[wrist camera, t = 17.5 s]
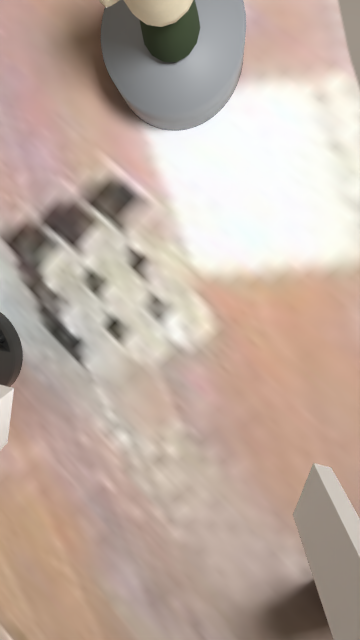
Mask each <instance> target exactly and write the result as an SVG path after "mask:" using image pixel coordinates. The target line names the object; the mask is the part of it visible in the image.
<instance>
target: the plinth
mask: <svg viewBox="0 0 360 640" xmlns="http://www.w3.org/2000/svg"><path fill="white" fill-rule="evenodd" d="M195 2H196V6H197V10H198V15H199V22H200V31H199V36H198V40H197V44H196V45H195V47H194V48H193V50H192V51H191V52H190V54H189V55H188V56H187V57H185V58H183V59H181V60H180V61H178V62H163V61H161V60H159V59H157V58H156V57H154V56H152V55H151V53H150V52H149V50H148V49H147V47H146V46H145V45H144V40H143V36H142V31H141V25H140V20H139V19H138V18H137V17H136V16H135V15H133V14H132V12H131V11H130V9H129V8H128V6H127V5H126V3H125V2H124V0H120V1H118V2H117V3H115V4H113V5H112V6H110V7H107V8H106V7H105V9H104V14H103V18H102V25H101V47H102V54H103V58H104V62H105V65H106V68H107V71H108V73H109V75H110V77H111V79H112V81H113V82H114V84H115V85H116V87H117V89H118V90H119V92H120V93H121V95H122V97H123V98H124V100H125V101H126V103H127V104H128V106H129V107H130V109H131V110H132V111H133V112H134V113H135V114H136V115H137V116H138V117H139V118H140V119H142V120H143V121H145V122H146V123H148V124H150V125H152V126H154V127H157V128H161V129H165V130H185V129H189V128H193V127H196V126H198V125H200V124H203V123H204V122H206V121H208V120H209V119H211V118H212V117H213V116H215V115H216V114H217V113H218V112H219V111H220V110H221V109H222V108H223V107H224V106H225V104H226V103H227V102H228V100H229V99H230V97H231V96H232V94H233V92H234V90H235V88H236V86H237V84H238V81H239V78H240V75H241V70H242V65H243V55H244V44H245V33H246V14H245V7H244V2H243V0H195Z"/></svg>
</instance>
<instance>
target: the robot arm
mask: <svg viewBox="0 0 360 640" xmlns="http://www.w3.org/2000/svg"><path fill="white" fill-rule="evenodd" d="M22 357H23V355H22V346H21V342H20V339H19V336H18V334H17V332H16V330H15V328H14V327H13V325H12V324H11V322H10V321H9V320H8V319H7V318H6V317H5V316H4V315H3V314H2V313H1V312H0V450H1V449H2V448H3V447H4V446H5V445H6V444H7V442H8V434H9V426H10V417H11V409H12V401H13V393H14V388H12V387H10V386H11V385H12V384H13V383H14V382H15V380H16V379H17V377H18V375H19V373H20V370H21V366H22ZM293 517H294V520H295V523H296V526H297V529H298V532H299V535H300V538H301V541H302V544H303V547H304V550H305V554H306V557H307V560H308V563H309V566H310V569H311V572H312V575H313V578H314V581H315V584H316V587H317V590H318V594H319V597H320V600H321V603H322V606H323V609H324V612H325V615H326V618H327V621H328V624H329V627H330V630H331V633H332V637H333V640H360V519H359V517H358V515H357V513H356V511H355V510H354V508H353V506H352V504H351V502H350V501H349V499H348V497H347V495H346V493H345V492H344V490H343V488H342V486H341V484H340V483H339V481H338V479H337V477H336V475H335V474H334V472H333V470H332V468H331V467H327V466H323V465H319V464H315V463H313V465H312V468H311V470H310V473H309V475H308V478H307V480H306V483H305V486H304V488H303V491H302V493H301V496H300V498H299V501H298V503H297V506H296V508H295V511H294V513H293Z"/></svg>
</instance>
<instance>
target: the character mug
mask: <svg viewBox="0 0 360 640" xmlns="http://www.w3.org/2000/svg"><path fill="white" fill-rule="evenodd" d="M99 1H100V3H102V4H103V5H104V6H105V7H106V8H107V7H110V6H112V5H113V4H115V3H117V2H118V1H120V0H99ZM124 2H125V3H126V5H127V6H128V8H129V9H130V11H131V12H132V14H133V15H135V16H136V17H137V18H138V19H139V20H140V25H141V31H142V36H143V40H144V45H145V46H146V47H147V49H148V50H149V52H150V53H151V55H152V56H154V57H156V58H157V59H159V60H161V61H163V62H178V61H180V60H181V59H183V58H185V57H187V56H188V55H189V54H190V52H191V51H192V50H193V48H194V47H195V45H196V44H197V40H198V36H199V31H200V22H199V15H198V10H197V6H196V2H195V0H124Z"/></svg>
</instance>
